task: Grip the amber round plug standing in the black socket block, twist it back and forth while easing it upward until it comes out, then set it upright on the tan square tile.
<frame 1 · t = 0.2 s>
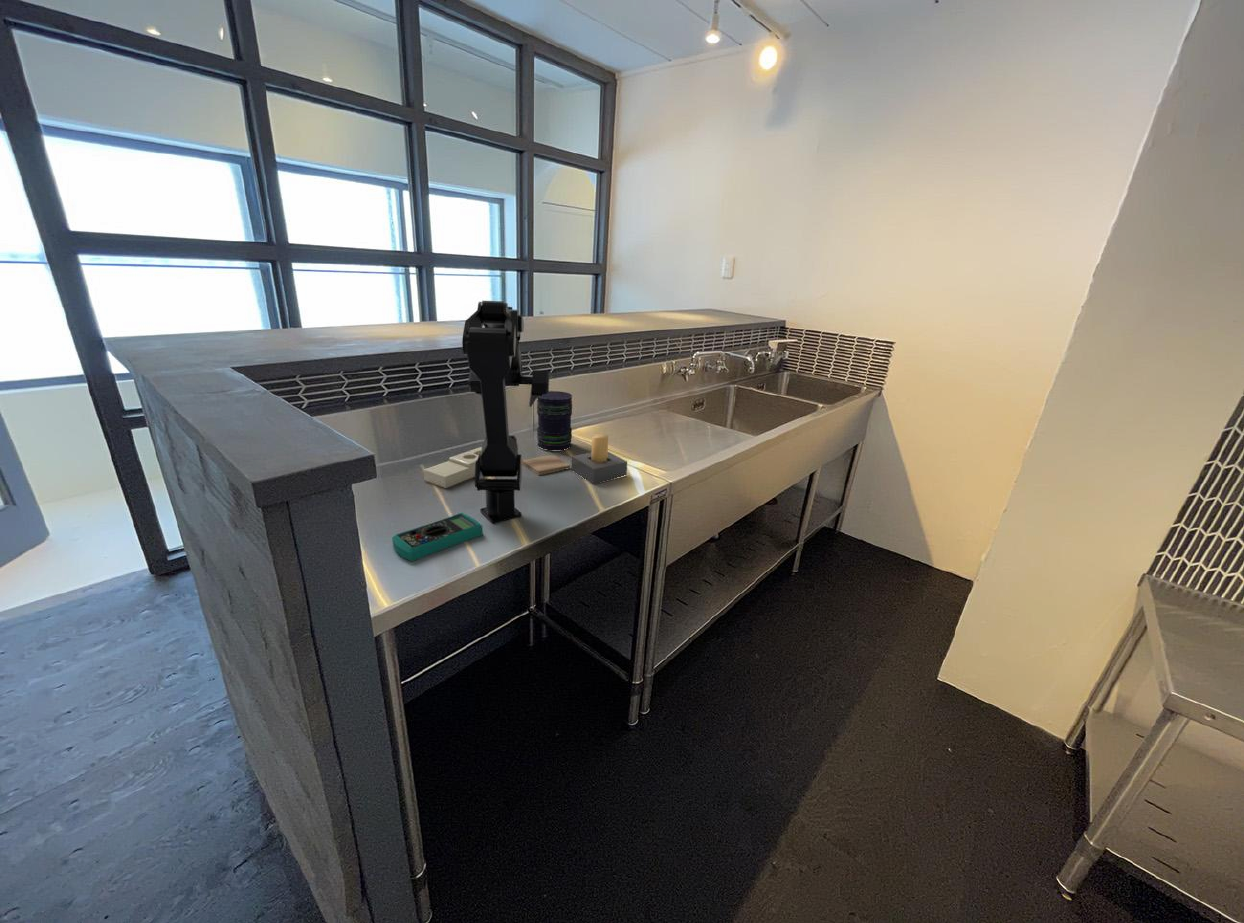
hand: (512, 405, 128), 15 cm above the table, tool tilted 30°, fingers open, 9 cm apart
storage jar: (554, 446, 146), on the table
amber plug: (599, 455, 125), in the socket block
socket block: (598, 473, 127), on the table
tan square tile: (545, 466, 130), on the table
digital multimeter: (439, 543, 93), on the table
electrical outlet: (465, 474, 124), on the table
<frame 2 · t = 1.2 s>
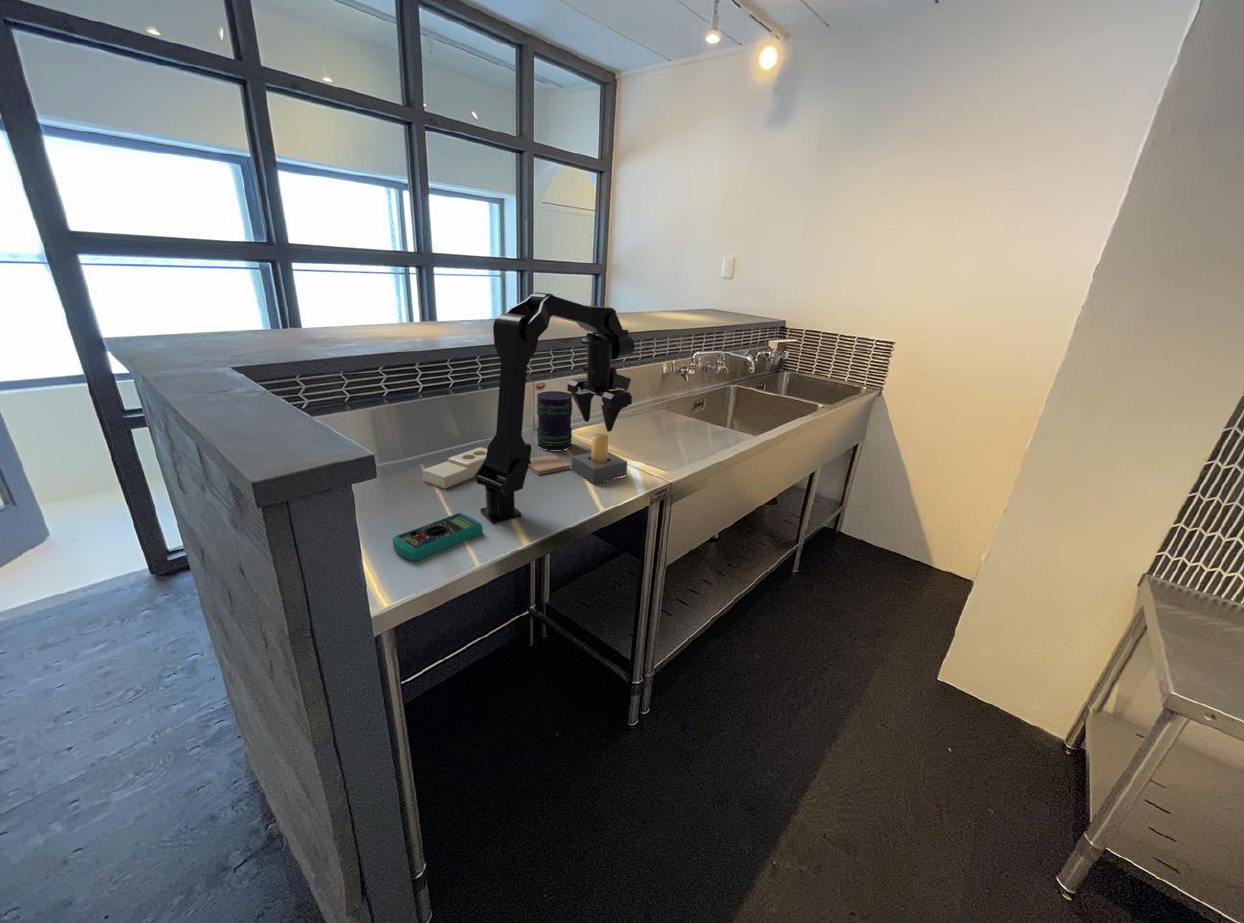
hand: (597, 426, 123), 12 cm above the table, tool pointing down, fingers open, 9 cm apart
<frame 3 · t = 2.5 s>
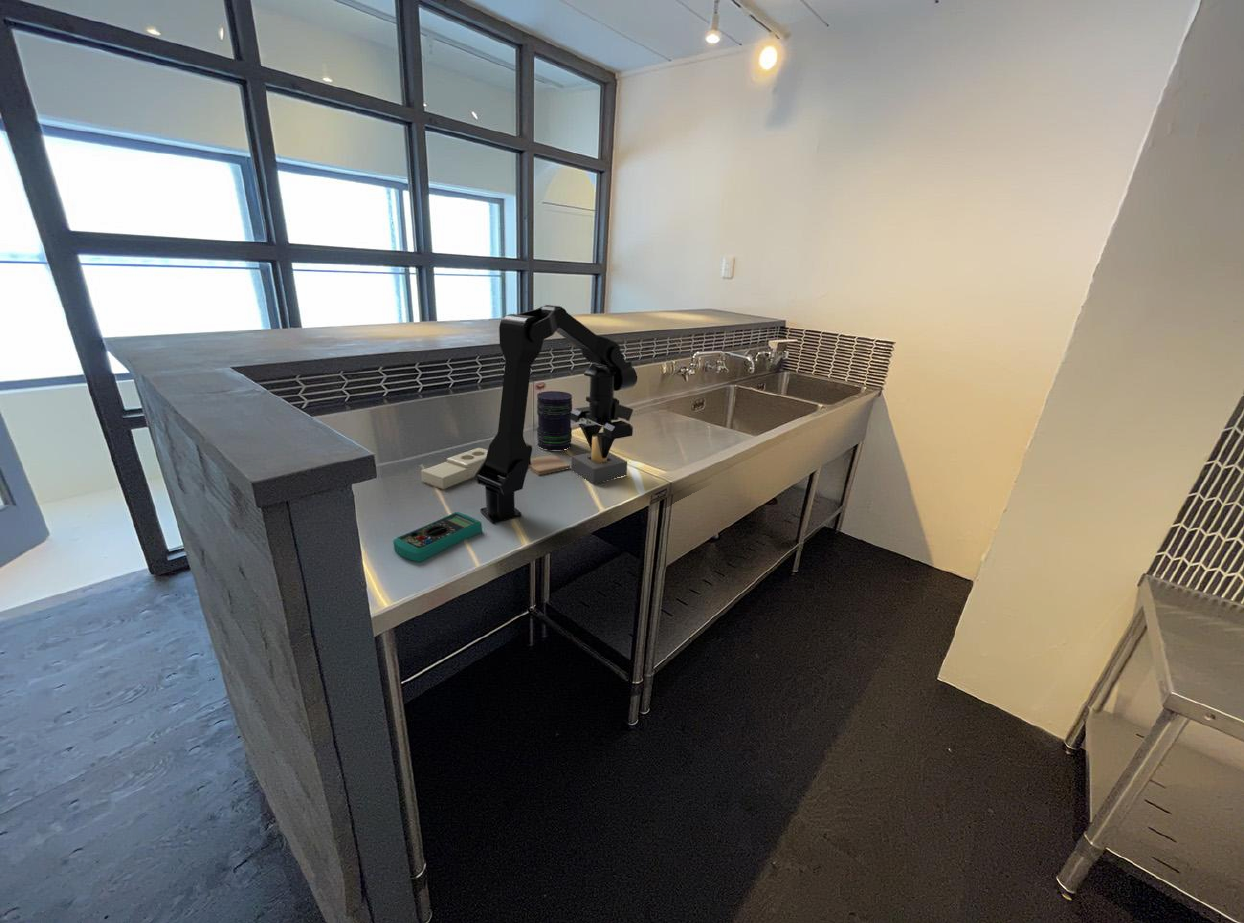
hand: (599, 455, 125), 5 cm above the table, tool pointing down, fingers closed on amber plug, 4 cm apart
amber plug: (599, 455, 125), in the socket block, touching gripper
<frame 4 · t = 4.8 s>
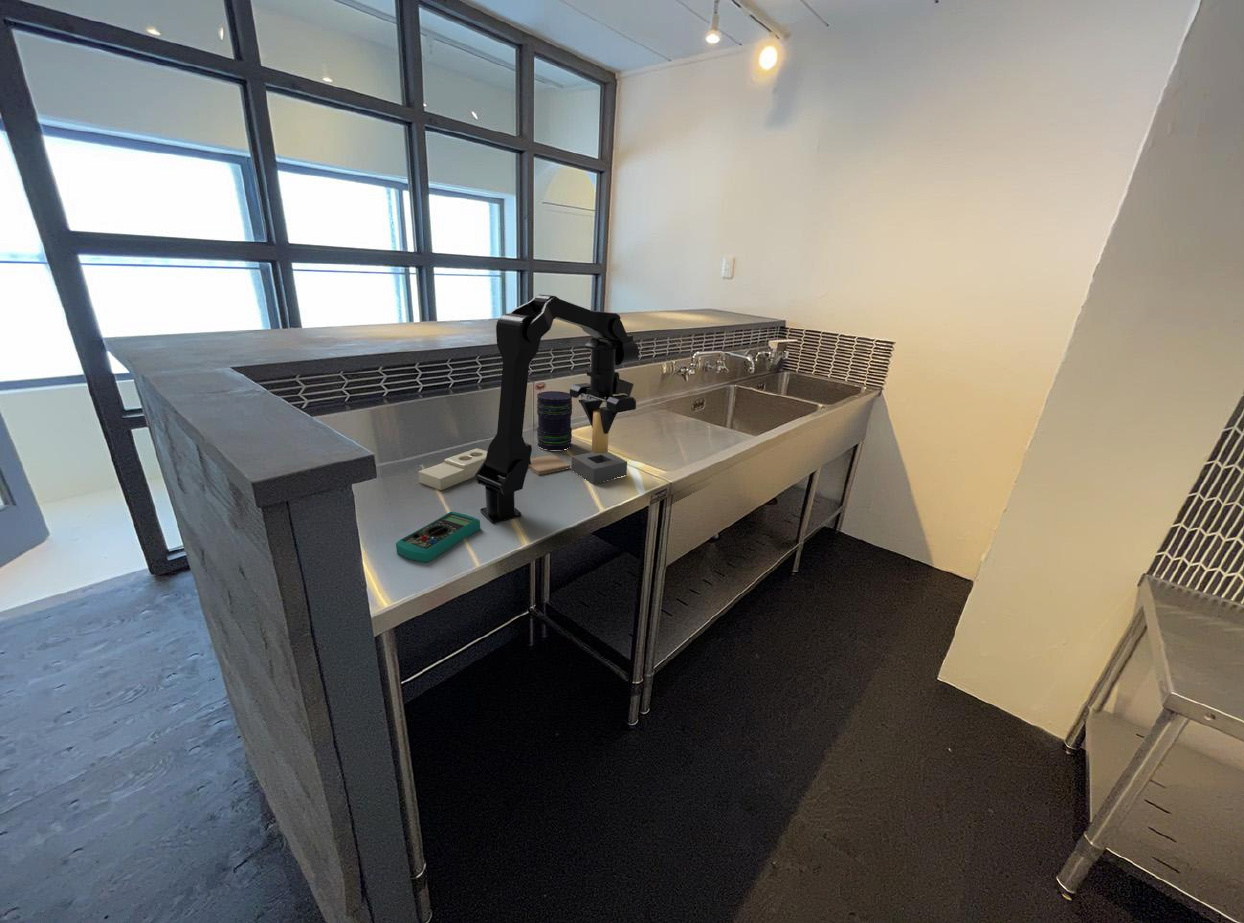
hand: (600, 431, 123), 11 cm above the table, tool pointing down, fingers closed on amber plug, 4 cm apart
amber plug: (600, 431, 123), point 11 cm above the table, touching gripper
when the fingers open (7 cm above the table, at t = 7.3 s): amber plug drops 1 cm, resting on tan square tile.
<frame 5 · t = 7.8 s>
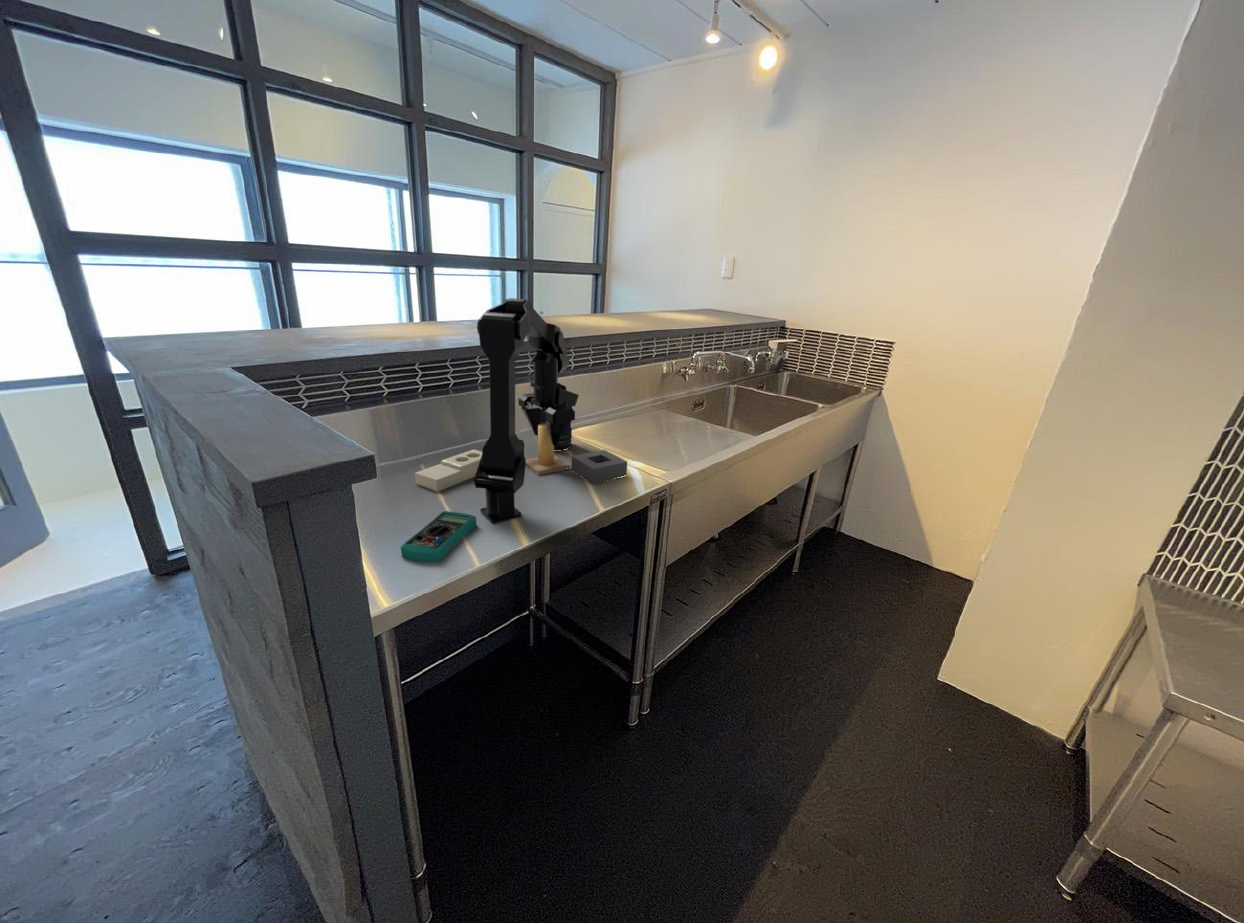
hand: (545, 439, 128), 7 cm above the table, tool pointing down, fingers open, 9 cm apart
amber plug: (546, 444, 128), on the tan square tile, point 6 cm above the table
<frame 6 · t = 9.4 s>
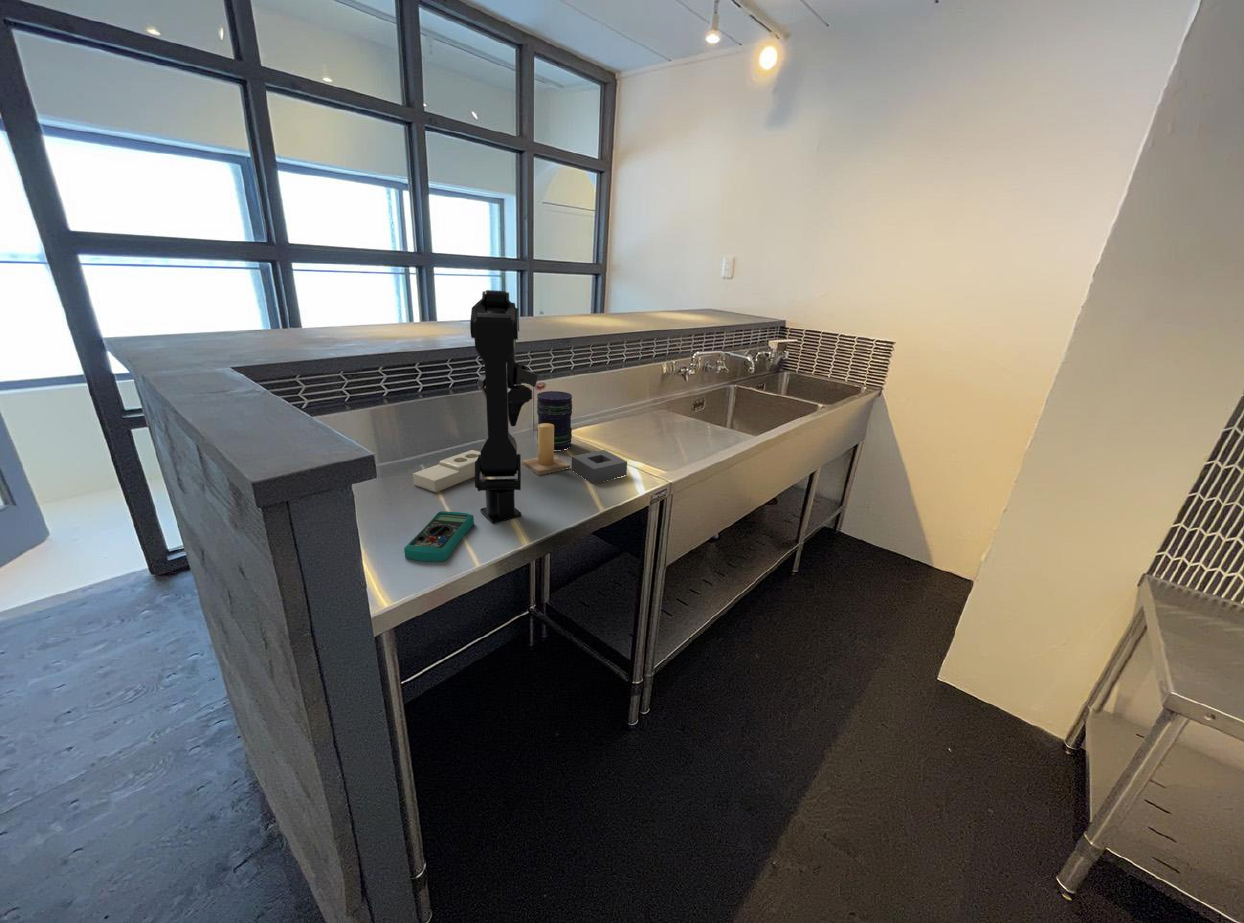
hand: (505, 421, 124), 12 cm above the table, tool pointing down, fingers open, 9 cm apart
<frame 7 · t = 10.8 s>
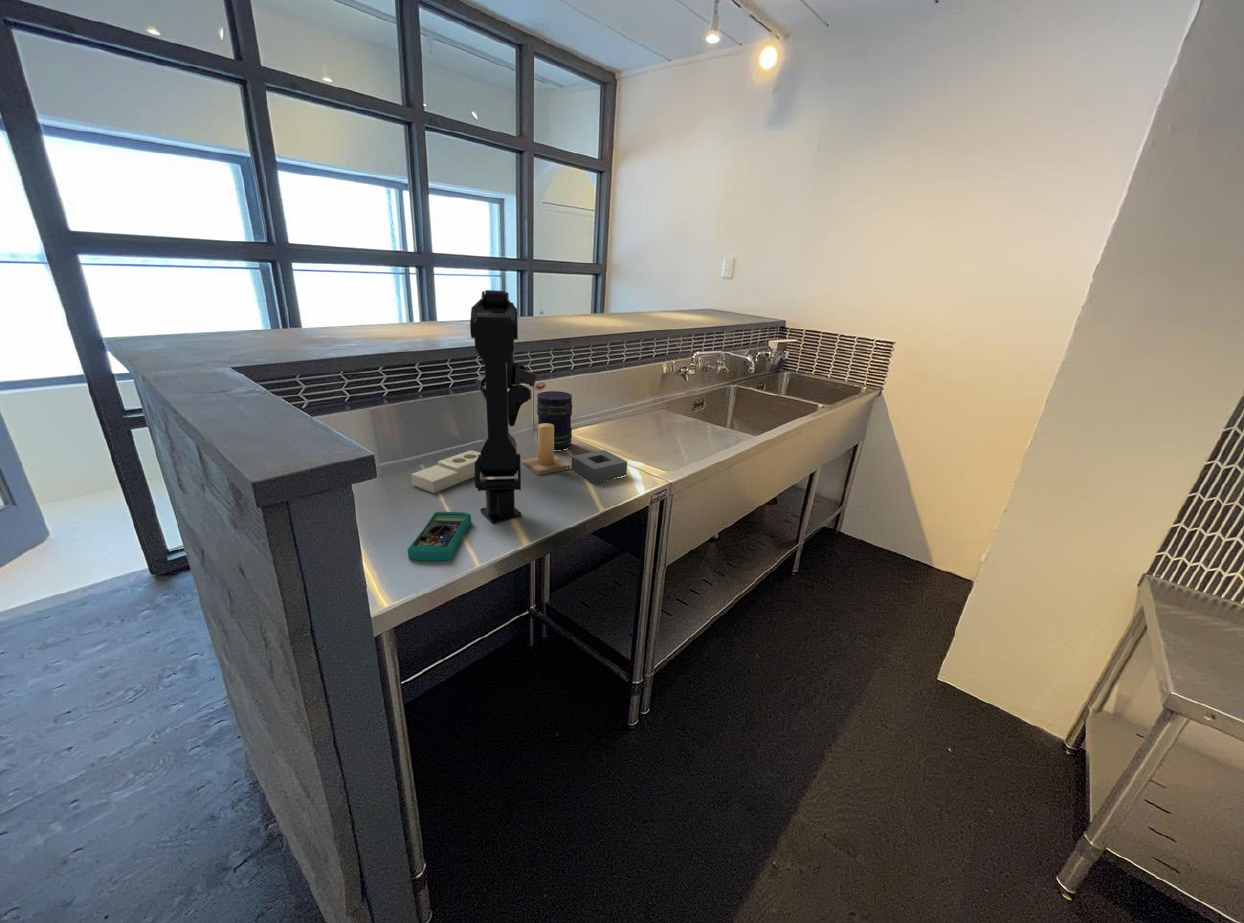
hand: (503, 421, 124), 12 cm above the table, tool pointing down, fingers open, 9 cm apart
at the end: amber plug 0.0 cm off-centre on the tan square tile, point 6.0 cm above the tan square tile's base; amber plug tilted 0°; the gripper is holding nothing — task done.
